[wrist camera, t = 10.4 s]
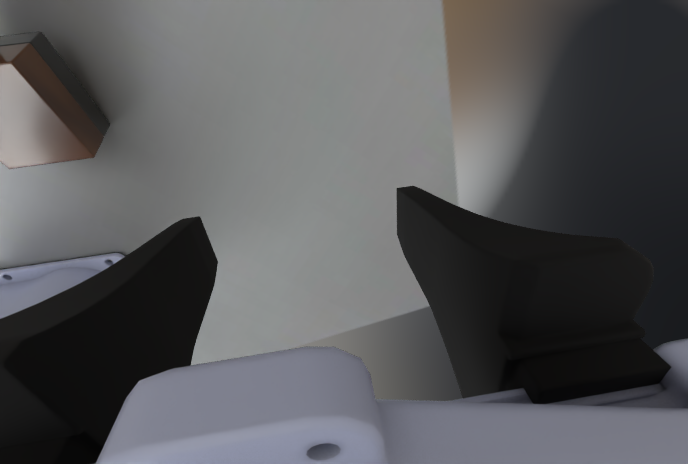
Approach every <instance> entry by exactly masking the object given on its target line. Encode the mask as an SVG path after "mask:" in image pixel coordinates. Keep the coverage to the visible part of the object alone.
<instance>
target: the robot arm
mask: <svg viewBox="0 0 688 464" xmlns="http://www.w3.org/2000/svg"><path fill="white" fill-rule="evenodd" d="M397 235H398V238H399V241H400V244H401V247H402V250H403V253H404V256H405V258H406V260H407V262H408V264H409V266H410V268H411V269H412V271H413V273H414V275H415V277H416V279H417V281H418V283H419V285H420V287H421V289H422V291H423V293H424V294H425V296H426V298H427V300H428V303H429V305H430V307H431V309H432V311H433V314H434V317H435V319H436V322H437V325H438V327H439V330H440V333H441V335H442V338H443V341H444V343H445V346H446V349H447V352H448V355H449V358H450V361H451V364H452V367H453V370H454V372H455V376H456V378H457V382H458V385H459V388H460V391H461V394H462V397H463V399H457V400H451V401H422V400H389V399H375V395H374V390H373V386H372V381H371V376H370V373H369V371H368V370H367V368H366V366H365V365H364V363H363V361H362V359H361V358H359V357H357V356H355V355H352V354H350V353H348V352H345V351H343V350H341V349H339V348H336V347H301V348H294V349H288V350H282V351H276V352H270V353H264V354H258V355H252V356H246V357H240V358H234V359H228V360H221V361H215V362H209V363H203V364H197V365H191V360H192V355H193V350H194V346H195V343H196V339H197V336H198V333H199V330H200V327H201V324H202V321H203V318H204V315H205V312H206V309H207V306H208V303H209V300H210V296H211V293H212V290H213V287H214V283H215V277H216V271H217V264H218V261H217V258H216V256H215V253H214V251H213V248H212V246H211V243H210V241H209V238H208V236H207V233H206V231H205V228H204V226H203V223H202V221H201V218H200V217H193V218H186V219H182V220H180V221H178V222H176V223H174V224H173V225H171V226H170V227H168V228H167V229H165V230H164V231H162V232H161V233H159V234H158V235H156V236H155V237H154V238H152V239H151V240H149V241H148V242H146V243H145V244H143V245H142V246H141V247H139V248H138V249H136V250H135V251H133V252H132V253H130V254H128V255H127V256H124V255H122V254H120V253H112V254H105V255H98V256H91V257H84V258H78V259H71V260H64V261H57V262H50V263H44V264H37V265H30V266H23V267H16V268H10V269H3V270H0V464H688V339H683V340H677V341H672V342H668V343H665V344H662V345H660V346H658V347H657V348H655V349H654V350H652V349H651V348H650V347H649V346H648V345H647V344H646V343H645V342H643V341H642V340H641V339H640V338H643V337H644V336H645V331H644V329H643V328H642V327H640V326H639V325H638V324H637V323H636V322H635V321H634V320H633V319H634V317H635V315H636V313H637V312H638V310H639V308H640V306H641V304H642V303H643V301H644V299H645V297H646V296H647V294H648V292H649V290H650V287H651V285H652V282H653V266H652V264H651V262H650V260H649V259H647V258H646V257H645V256H643V255H642V254H641V253H639V252H638V251H636V250H635V249H633V248H632V247H630V246H629V245H627V244H626V243H624V242H623V241H622V240H620V239H618V238H606V237H592V236H580V235H569V234H562V233H555V232H547V231H541V230H536V229H531V228H526V227H521V226H517V225H512V224H508V223H504V222H500V221H497V220H494V219H490V218H487V217H484V216H481V215H478V214H475V213H473V212H470V211H468V210H465V209H463V208H460V207H458V206H456V205H453V204H451V203H449V202H447V201H445V200H443V199H441V198H438V197H436V196H434V195H432V194H430V193H428V192H426V191H424V190H422V189H420V188H417V187H415V186H409V187H402V188H397ZM109 260H111V261H112V262H110V261H109ZM190 365H191V366H190Z"/></svg>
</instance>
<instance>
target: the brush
mask: <svg viewBox="0 0 688 464" xmlns="http://www.w3.org/2000/svg"><path fill="white" fill-rule="evenodd" d="M109 126H110V123H109V122H108V121H107V119H106V118H105V117H104V115H103V114H102V113H101V111H100V110H99V108H98V107H97V106H96V104H95V103H94V102H93V100H92V99H91V98H90V96H89V95H88V94H87V92H86V91H85V90H84V88H83V87H82V86H81V84H80V83H79V81H78V80H77V79H76V77H75V76H74V75H73V73H72V72H71V71H70V69H69V68H68V67H67V65H66V64H65V63H64V61H63V60H62V59H61V57H60V56H59V54H58V53H57V52H56V50H55V49H54V48H53V46H52V45H51V44H50V42H49V41H48V40H47V38H46V37H45V36H44V34H43V33H42V32H32V33H23V34H15V35H6V36H0V162H2V163H3V164H4V165H5V166H6V167H7V168H9V169H13V168H20V167H28V166H35V165H43V164H50V163H57V162H65V161H72V160H80V159H87V158H94V157H95V155H96V153H97V151H98V149H99V147H100V145H101V143H102V141H103V138H104V136H105V134H106V132H107V130H108V128H109Z"/></svg>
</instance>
